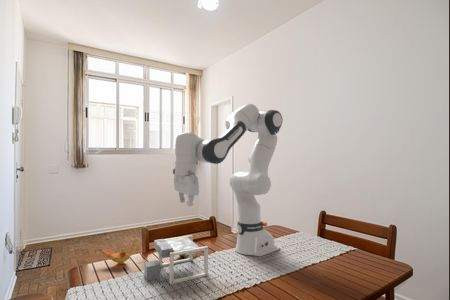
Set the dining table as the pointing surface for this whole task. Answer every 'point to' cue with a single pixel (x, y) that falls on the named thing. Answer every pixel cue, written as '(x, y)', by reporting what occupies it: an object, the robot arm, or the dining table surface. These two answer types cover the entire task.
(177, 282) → the frame
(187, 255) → the rock sample
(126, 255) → the magic lamp
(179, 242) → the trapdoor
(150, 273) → the stone
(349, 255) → the dining table surface
